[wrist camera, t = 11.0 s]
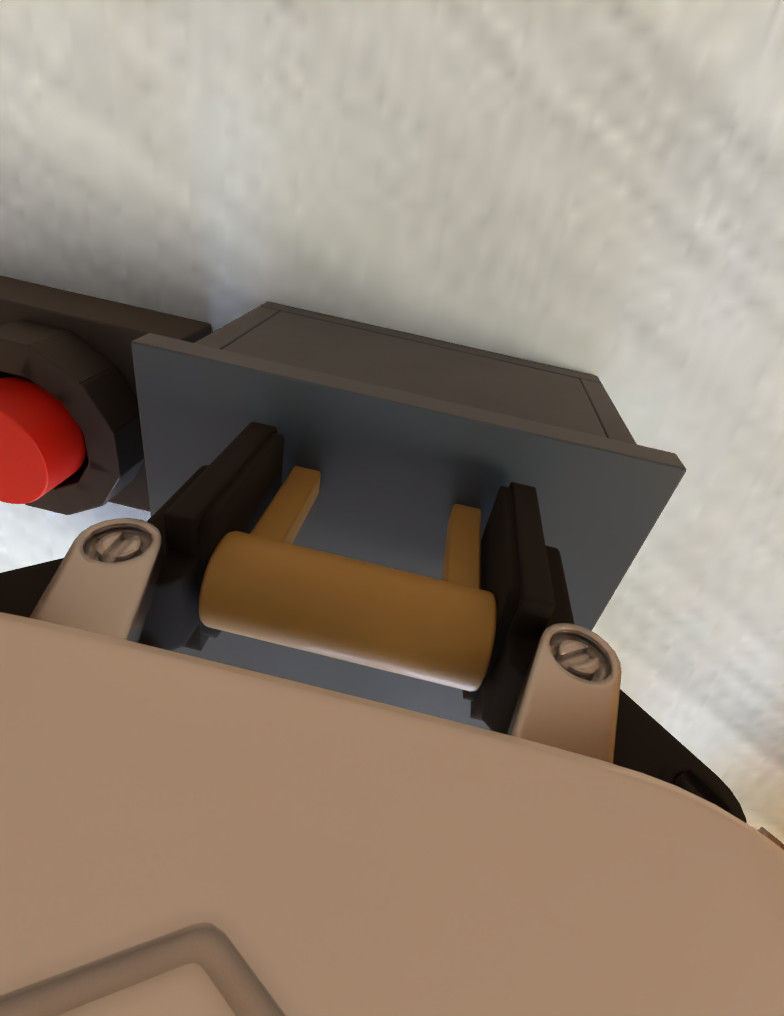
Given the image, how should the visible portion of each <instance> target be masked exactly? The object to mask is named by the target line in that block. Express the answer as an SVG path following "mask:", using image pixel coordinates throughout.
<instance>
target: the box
mask: <svg viewBox="0 0 784 1016" xmlns="http://www.w3.org/2000/svg"><path fill="white" fill-rule="evenodd" d="M195 343H196V344H200V345H204V346H209V347H213V348H217V349H222V350H226V351H230V352H235V353H239V354H244V355H248V356H252V357H257V358H261V359H265V360H270V361H274V362H278V363H283V364H287V365H291V366H296V367H300V368H304V369H309V370H313V371H318V372H322V373H326V374H331V375H335V376H339V377H344V378H348V379H352V380H357V381H361V382H365V383H370V384H374V385H379V386H383V387H387V388H392V389H396V390H400V391H405V392H409V393H413V394H418V395H422V396H426V397H431V398H435V399H439V400H444V401H448V402H453V403H457V404H461V405H466V406H470V407H474V408H479V409H483V410H487V411H492V412H496V413H500V414H505V415H509V416H513V417H518V418H522V419H527V420H531V421H535V422H540V423H544V424H548V425H553V426H557V427H561V428H566V429H570V430H574V431H579V432H583V433H587V434H592V435H596V436H601V437H605V438H609V439H614V440H618V441H622V442H627V443H631V444H635V445H637V444H636V442H635V441H634V439H633V437H632V435H631V434H630V432H629V430H628V428H627V427H626V425H625V423H624V422H623V420H622V418H621V416H620V415H619V413H618V411H617V409H616V408H615V406H614V404H613V403H612V401H611V399H610V397H609V396H608V394H607V392H606V390H605V389H604V387H603V385H602V384H601V382H600V380H599V378H598V377H597V376H594V375H590V374H585V373H581V372H577V371H572V370H568V369H563V368H559V367H554V366H550V365H546V364H541V363H537V362H532V361H528V360H523V359H519V358H515V357H510V356H506V355H501V354H497V353H493V352H488V351H484V350H479V349H475V348H470V347H466V346H462V345H457V344H453V343H448V342H444V341H440V340H435V339H431V338H426V337H422V336H417V335H413V334H409V333H404V332H400V331H395V330H391V329H387V328H382V327H378V326H373V325H369V324H364V323H360V322H356V321H351V320H347V319H342V318H338V317H333V316H329V315H325V314H320V313H316V312H311V311H307V310H303V309H298V308H294V307H289V306H285V305H280V304H276V303H272V302H266V303H264V304H262V305H260V307H257V308H256V309H254V310H252V311H250V312H248V313H247V314H245V315H243V316H241V317H240V318H238V319H236V320H234V321H232V322H231V323H229V324H227V325H225V326H224V327H222V328H220V329H218V330H216V331H215V332H213V333H211V334H209V335H207V336H206V337H204V338H202V339H200V340H199V341H197V342H195Z"/></svg>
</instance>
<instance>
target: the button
mask: <svg viewBox="0 0 784 1016" xmlns="http://www.w3.org/2000/svg"><path fill="white" fill-rule="evenodd" d="M85 455H86V445H85V439H84V435H83V433H82V430H81V429H80V427H79V426H78V425H77V423H76V422H75V420H74V419H73V417H72V416H71V415H70V413H69V412H68V410H67V409H66V407H65V406H64V405H63V403H62V402H61V401H60V400H58V399H57V398H55V397H54V396H53V395H51V394H50V393H48V392H47V391H46V390H44V389H43V388H41V387H40V386H39V385H37V384H35V383H33V382H30V381H27V380H24V379H20V378H14V377H4V378H0V501H3V502H6V503H12V504H25V503H30V502H33V501H35V500H37V499H39V498H40V497H42V496H43V495H44V494H46V493H47V492H49V491H50V490H51V489H53V488H54V487H56V486H57V485H58V484H60V483H61V482H63V481H64V480H65V479H67V478H68V477H70V476H71V475H72V474H74V473H75V472H77V471H78V470H79V469H80V467H81V466H82V464H83V462H84V459H85Z"/></svg>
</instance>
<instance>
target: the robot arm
mask: <svg viewBox="0 0 784 1016" xmlns="http://www.w3.org/2000/svg"><path fill="white" fill-rule="evenodd" d="M283 452H284V436H283V434H279V433H278V432H277V428H276V427H275V426H271V425H266V424H262V423H258V422H253V421H252V422H251V423H249V424H248V425H247V427H246V428H245V429H244V430H243V431H242V432H241V433H240V434H239V435H238V436H237V437H236V438H235V439H234V440H233V441H232V442H231V443H230V444H229V445H228V446H227V447H226V448H225V449H224V450H223V451H222V452H221V454H220V455H219V456H218V457H217V458H216V459H215V460H214V461H213V462H212V463H211V464H210V465H209V466H208V465H203V466H202V467H201V468H199V469H198V470H197V471H196V472H195V473H194V474H193V475H192V476H191V477H190V478H189V479H188V480H187V481H186V482H185V483H184V484H183V485H182V487H181V488H180V489H179V490H178V491H177V492H176V493H175V494H174V495H173V496H172V497H171V498H170V499H169V500H168V501H167V502H166V503H165V504H164V505H163V506H162V507H161V508H160V509H159V510H158V511H157V512H156V513H155V514H154V515H153V516H152V517H151V518H150V519H149V520H148V521H147V522H145V521H143V520H138V519H131V518H122V519H112V520H107V521H103V522H100V523H98V524H95V525H92V526H90V527H89V528H87V529H86V530H84V531H83V532H81V533H80V534H79V536H78V537H77V538H76V539H75V540H74V542H73V544H72V545H71V547H70V549H69V551H68V552H67V554H66V556H65V557H64V558H62V559H58V560H53V561H49V562H45V563H41V564H37V565H32V566H28V567H24V568H20V569H15V570H11V571H7V572H3V573H0V1016H784V844H783V843H781V842H780V841H779V840H778V839H776V838H775V837H774V836H773V835H772V834H770V833H769V832H768V831H767V830H765V829H764V828H763V827H761V828H760V829H758V830H756V829H754V828H753V827H751V826H750V825H748V824H747V823H746V818H745V815H744V813H743V810H742V808H741V806H740V803H739V802H738V800H737V799H736V797H735V796H734V794H733V793H732V791H731V790H730V789H729V788H728V787H727V786H726V784H725V783H724V782H723V781H722V780H721V779H720V778H719V777H718V776H717V775H716V774H715V773H714V772H712V771H711V770H710V769H709V768H708V767H707V766H706V765H705V764H703V763H702V762H701V761H700V760H699V759H698V758H697V757H696V756H695V755H693V754H692V753H691V752H690V751H689V750H688V749H687V748H686V747H684V746H683V745H682V744H681V743H680V742H679V741H678V740H677V739H675V738H674V737H673V736H672V735H671V734H670V733H669V732H668V731H667V730H665V729H664V728H663V727H662V726H661V725H660V724H659V723H658V722H656V721H655V720H654V719H653V718H652V717H651V716H650V715H649V714H647V713H646V712H645V711H644V710H643V709H642V708H641V707H640V706H639V705H637V704H636V703H635V702H634V701H633V700H632V699H631V698H630V697H628V696H627V695H626V694H625V693H624V692H623V691H622V690H621V689H620V682H621V665H620V661H619V659H618V657H617V655H616V653H615V652H614V650H613V649H612V648H611V647H610V645H609V644H608V643H607V642H606V641H604V640H603V639H602V638H601V637H600V636H598V635H597V634H595V633H594V632H592V631H590V630H588V629H586V628H584V627H581V626H578V625H575V624H574V619H573V614H572V609H571V604H570V599H569V594H568V589H567V584H566V579H565V574H564V569H563V564H562V560H561V555H560V552H559V549H557V548H555V547H551V546H546V545H545V540H544V534H543V528H542V522H541V516H540V510H539V504H538V498H537V492H536V488H535V487H532V486H528V485H523V484H519V483H515V482H511V483H510V485H509V487H505V486H501V487H500V489H499V491H498V494H497V497H496V499H495V502H494V505H493V508H492V511H491V513H490V516H489V519H488V522H487V525H486V528H485V530H484V533H483V536H482V539H481V578H480V589H481V590H485V591H489V592H491V593H493V594H494V595H495V598H496V604H497V621H496V634H495V640H494V646H493V651H492V655H491V659H490V663H489V666H488V669H487V672H486V675H485V677H484V679H483V681H482V683H481V685H480V686H479V688H478V689H477V690H476V691H466V690H463V699H464V700H468V701H471V714H470V718H473V719H477V720H481V721H484V722H485V724H486V725H487V726H488V727H489V728H490V729H491V730H487V729H483V728H479V727H475V726H471V725H467V724H463V723H459V722H455V721H451V720H447V719H443V718H439V717H435V716H432V715H428V714H424V713H420V712H416V711H412V710H408V709H404V708H400V707H396V706H392V705H388V704H384V703H380V702H376V701H372V700H368V699H364V698H360V697H356V696H352V695H348V694H344V693H340V692H336V691H332V690H328V689H324V688H320V687H316V686H312V685H308V684H304V683H300V682H296V681H292V680H288V679H284V678H280V677H275V676H271V675H267V674H263V673H259V672H255V671H251V670H247V669H243V668H239V667H235V666H231V665H227V664H223V663H219V662H214V661H210V660H206V659H202V658H198V657H194V656H190V655H186V654H181V653H177V652H173V650H174V649H177V648H180V647H186V648H191V649H195V650H199V651H201V650H202V648H203V647H204V645H205V643H206V642H207V640H208V638H209V637H213V638H216V637H217V636H218V635H219V634H220V632H221V631H222V630H218V629H214V628H210V627H207V626H205V625H204V624H203V623H202V622H201V620H200V617H199V595H200V589H201V584H202V580H203V576H204V573H205V570H206V567H207V565H208V562H209V560H210V558H211V556H212V554H213V552H214V550H215V548H216V546H217V545H218V543H219V542H220V540H221V539H222V538H223V537H224V536H225V535H226V534H227V533H229V532H232V531H239V532H243V533H248V534H250V533H251V531H252V530H253V528H254V527H255V525H256V524H257V522H258V521H259V519H260V518H261V516H262V515H263V513H264V512H265V510H266V509H267V507H268V506H269V504H270V503H271V501H272V500H273V498H274V497H275V495H276V494H277V492H278V490H279V489H280V487H281V484H282V468H283Z"/></svg>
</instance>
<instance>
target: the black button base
mask: <svg viewBox="0 0 784 1016" xmlns="http://www.w3.org/2000/svg"><path fill="white" fill-rule="evenodd" d="M149 333H152V334H156V335H161V336H165V337H170V338H174V339H178V340H183V341H187V342H191V343H195V342H197V341H199V340H200V339H202V338H204V337H206V336H207V335H209V334H211V326H210V324H208V323H204V322H200V321H195V320H191V319H187V318H182V317H178V316H174V315H169V314H165V313H160V312H156V311H152V310H147V309H143V308H138V307H134V306H130V305H125V304H121V303H117V302H112V301H108V300H103V299H99V298H95V297H90V296H86V295H82V294H77V293H73V292H68V291H64V290H60V289H55V288H51V287H47V286H42V285H38V284H33V283H29V282H25V281H20V280H16V279H11V278H7V277H3V276H0V378H4V377H14V378H20V379H24V380H27V381H30V382H33V383H35V384H37V385H39V386H40V387H41V388H43V389H44V390H46V391H47V392H48V393H50V394H51V395H53V396H54V397H55V398H57V399H58V400H60V401H61V402H62V403H63V405H64V406H65V407H66V409H67V410H68V412H69V413H70V415H71V416H72V417H73V419H74V420H75V422H76V423H77V425H78V426H79V427H80V429H81V430H82V433H83V435H84V439H85V445H86V455H85V459H84V462H83V464H82V466H81V467H80V469H79V470H78V471H77V472H75V473H74V474H72V475H71V476H70V477H68V478H67V479H65V480H64V481H63V482H61V483H60V484H58V485H57V486H56V487H54V488H53V489H51V490H50V491H49V492H47V493H46V494H44V495H43V496H42V497H40V498H39V499H37V500H35V501H33V502H30V503H25V505H28V506H32V507H36V508H41V509H45V510H49V511H53V512H57V513H61V514H65V515H71V514H74V513H78V512H82V511H85V510H89V509H93V508H96V507H100V506H103V505H104V504H106V503H107V502H112V503H117V504H121V505H125V506H129V507H133V508H137V509H142V510H146V511H150V512H151V510H150V501H149V493H148V484H147V475H146V467H145V458H144V450H143V441H142V432H141V424H140V415H139V407H138V398H137V390H136V381H135V372H134V364H133V355H132V347H131V342H132V341H133V340H136V339H138V338H140V337H142V336H144V335H147V334H149Z"/></svg>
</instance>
